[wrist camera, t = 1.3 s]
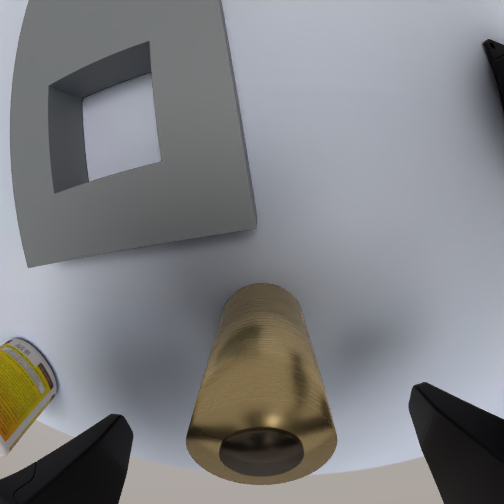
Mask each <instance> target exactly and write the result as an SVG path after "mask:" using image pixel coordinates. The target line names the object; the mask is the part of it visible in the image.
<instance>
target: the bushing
mask: <svg viewBox="0 0 504 504" xmlns="http://www.w3.org/2000/svg"><path fill="white" fill-rule="evenodd" d="M186 445H187V449H188V451H189V453H190V455H191V457H192V458H193V459H194V460H195V461H196V463H198V464H199V465H200V466H201V467H202V468H204V469H205V470H207V471H208V472H210V473H212V474H214V475H216V476H218V477H220V478H223V479H226V480H229V481H233V482H238V483H243V484H252V485H270V484H279V483H285V482H289V481H293V480H296V479H299V478H302V477H304V476H306V475H309V474H311V473H312V472H314V471H316V470H317V469H319V468H320V467H322V466H323V465H324V464H325V463H326V462H327V461H328V460H329V459H330V458H331V456H332V455H333V453H334V451H335V449H336V445H337V435H336V431H335V427H334V423H333V419H332V416H331V412H330V408H329V404H328V401H327V397H326V394H325V390H324V386H323V383H322V379H321V376H320V372H319V369H318V365H317V361H316V358H315V355H314V351H313V348H312V344H311V341H310V337H309V334H308V331H307V327H306V324H305V321H304V317H303V314H302V311H301V308H300V305H299V303H298V302H297V300H296V299H295V297H294V296H293V295H292V294H291V293H289V292H288V291H287V290H285V289H283V288H281V287H279V286H276V285H273V284H265V283H259V284H252V285H249V286H246V287H243V288H241V289H240V290H238V291H237V292H235V293H234V294H233V295H232V296H231V297H230V298H229V299H228V301H227V302H226V304H225V306H224V309H223V312H222V315H221V319H220V322H219V325H218V329H217V332H216V336H215V339H214V342H213V346H212V349H211V353H210V356H209V360H208V363H207V366H206V370H205V373H204V377H203V380H202V384H201V387H200V391H199V394H198V398H197V401H196V405H195V408H194V412H193V415H192V419H191V422H190V426H189V429H188V433H187V436H186Z"/></svg>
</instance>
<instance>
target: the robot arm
mask: <svg viewBox="0 0 504 504" xmlns="http://www.w3.org/2000/svg"><path fill="white" fill-rule="evenodd" d="M484 46H485V48H486V51H487V54H488V57H489V59H490V62H491V65H492V68H493V71H494V74H495V78H496V81H497V84H498V88H499V92H500V95H501V99H502V103H503V107H504V45H502V44H500V43H498V42H495V41H493V40H490V39H487V40H485V41H484ZM409 412H410V415H411V418H412V421H413V424H414V427H415V431H416V434H417V437H418V440H419V444H420V447H421V449H422V452H423V454H424V457H425V459H426V461H427V463H428V465H429V468H430V470H431V473H432V475H433V477H434V480H435V482H436V485H437V487H438V489H439V492H440V495H441V497H442V500H443V502H444V504H504V419H502V418H500V417H497V416H495V415H493V414H491V413H489V412H487V411H484V410H482V409H480V408H478V407H476V406H474V405H472V404H470V403H468V402H465V401H463V400H461V399H459V398H457V397H455V396H453V395H451V394H449V393H447V392H445V391H443V390H441V389H439V388H437V387H435V386H433V385H431V384H429V383H427V382H423V383H420V384H417V385H414V386H413V388H412V391H411V396H410V400H409ZM132 442H133V432H132V430H131V428H130V426H129V424H128V423H127V421H126V419H125V417H124V416H122V415H119V414H110V415H109V416H107V417H106V418H104V419H103V420H101V421H100V422H98V423H97V424H95V425H94V426H92V427H91V428H89V429H88V430H86V431H84V432H83V433H81V434H80V435H78V436H77V437H75V438H74V439H72V440H70V441H69V442H67V443H66V444H64V445H62V446H61V447H59V448H58V449H56V450H55V451H53V452H51V453H50V454H48V455H46V456H45V457H43V458H42V459H40V460H38V461H37V462H35V463H33V464H31V465H29V466H28V467H26V468H24V469H22V470H20V471H18V472H16V473H14V474H12V475H10V476H7V477H5V478H3V479H0V504H118V503H119V499H120V496H121V492H122V488H123V485H124V482H125V478H126V474H127V470H128V463H129V458H130V453H131V447H132Z"/></svg>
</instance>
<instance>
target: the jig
mask: <svg viewBox="0 0 504 504" xmlns="http://www.w3.org/2000/svg"><path fill="white" fill-rule="evenodd" d="M150 72H152V85H153V96H154V105H155V115H156V124H157V132H158V140H159V147H160V154H161V161H162V162H158V163H154V164H150V165H146V166H142V167H138V168H134V169H131V170H127V171H124V172H120V173H117V174H113V175H110V176H107V177H103V178H100V179H97V180H94V181H90V182H89V181H88V174H87V165H86V156H85V146H84V134H83V118H82V98H84V97H86V96H88V95H91V94H93V93H95V92H98V91H100V90H103V89H105V88H108V87H110V86H113V85H115V84H118V83H121V82H123V81H126V80H129V79H132V78H135V77H137V76H140V75H143V74H147V73H150ZM10 155H11V171H12V182H13V192H14V200H15V207H16V213H17V220H18V225H19V231H20V236H21V241H22V245H23V250H24V254H25V258H26V262H27V266H28V268H31V267H36V266H41V265H46V264H51V263H56V262H62V261H67V260H72V259H77V258H83V257H88V256H94V255H99V254H105V253H110V252H116V251H122V250H127V249H133V248H139V247H145V246H151V245H156V244H162V243H168V242H175V241H181V240H187V239H193V238H199V237H206V236H212V235H218V234H225V233H231V232H238V231H245V230H251V229H256V224H257V215H256V208H255V202H254V195H253V189H252V182H251V176H250V170H249V163H248V157H247V151H246V145H245V139H244V132H243V126H242V120H241V114H240V108H239V102H238V96H237V90H236V84H235V78H234V72H233V66H232V60H231V54H230V48H229V43H228V37H227V31H226V25H225V20H224V14H223V8H222V3H221V0H29V2H28V5H27V8H26V12H25V16H24V20H23V24H22V28H21V32H20V37H19V42H18V47H17V53H16V59H15V66H14V73H13V82H12V93H11V109H10Z"/></svg>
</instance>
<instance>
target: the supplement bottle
mask: <svg viewBox="0 0 504 504" xmlns="http://www.w3.org/2000/svg"><path fill="white" fill-rule="evenodd" d="M56 390H57V386H56V380H55V377H54V375H53V372H52V370H51V368H50V367H49V365H48V363H47V362H46V360H45V359H44V358H43V356H42V355H41V354H40V353H39V352H38V351H37V350H36V349H35V348H34V347H33V346H32V345H30V344H29V343H27V342H25V341H24V340H21V339H11V340H9V341H8V342H6V343H5V344H4V345H2V346H1V347H0V457H5V456H7V455H8V453H9V452H10V451H11V450H12V448H13V447H14V446H15V445H16V443H17V442H18V441H19V440H20V438H21V437H22V436H23V434H24V433H25V432H26V431H27V429H28V428H29V427H30V426H31V425H32V423H33V422H34V421H35V420H36V418H37V417H38V416H39V415H40V414H41V412H42V411H43V410H44V409H45V407H46V406H47V405H48V404H49V403H50V401H51V400H52V399H53V398H54V396H55V394H56Z"/></svg>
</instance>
